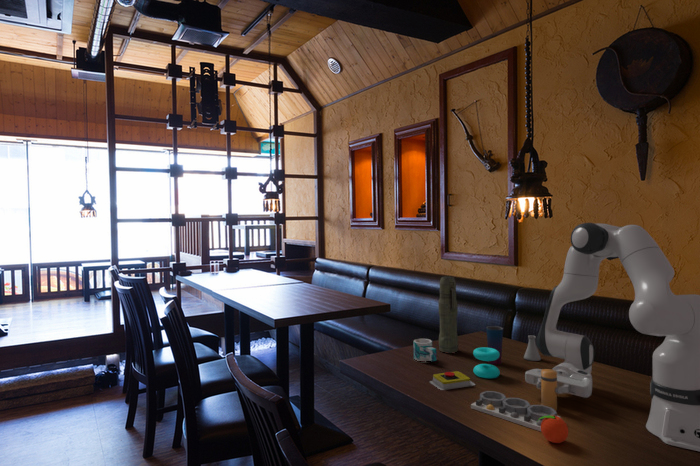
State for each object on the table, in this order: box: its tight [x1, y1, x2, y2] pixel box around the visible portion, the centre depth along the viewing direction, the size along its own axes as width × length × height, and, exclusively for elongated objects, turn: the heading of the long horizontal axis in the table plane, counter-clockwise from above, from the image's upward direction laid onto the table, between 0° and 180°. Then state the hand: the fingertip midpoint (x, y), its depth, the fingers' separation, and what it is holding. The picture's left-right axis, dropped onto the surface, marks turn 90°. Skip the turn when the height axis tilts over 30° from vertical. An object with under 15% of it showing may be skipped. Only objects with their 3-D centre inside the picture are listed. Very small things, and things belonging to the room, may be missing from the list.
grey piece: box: [470, 390, 562, 433], centre depth 137 cm, size 24×11×3 cm, turn 43°
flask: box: [523, 335, 542, 362], centre depth 191 cm, size 7×7×10 cm
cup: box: [485, 325, 504, 366], centre depth 187 cm, size 7×7×15 cm
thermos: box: [437, 275, 459, 353], centre depth 205 cm, size 9×12×35 cm
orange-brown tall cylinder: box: [540, 368, 558, 412], centre depth 141 cm, size 5×5×12 cm
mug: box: [413, 338, 437, 363], centre depth 191 cm, size 8×12×8 cm
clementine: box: [537, 415, 569, 444], centre depth 120 cm, size 8×7×7 cm
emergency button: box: [429, 370, 476, 391], centre depth 164 cm, size 9×4×15 cm
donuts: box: [472, 346, 501, 379], centre depth 172 cm, size 10×10×10 cm
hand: (548, 388), depth 140 cm, fingers closed on orange-brown tall cylinder, 5 cm apart
